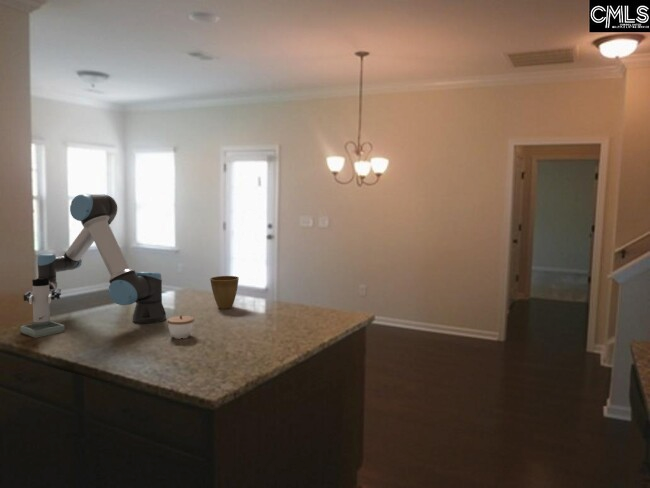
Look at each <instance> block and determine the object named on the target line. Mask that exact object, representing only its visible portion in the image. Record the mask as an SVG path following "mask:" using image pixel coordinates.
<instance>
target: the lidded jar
mask: <svg viewBox="0 0 650 488" xmlns="http://www.w3.org/2000/svg"><path fill="white" fill-rule="evenodd" d="M167 327H168V331H169V333H170V335H171V336H172V337H173V338H174V339H178V340H181V338H183V339H187V338H189V336H190V335H191V334H192V332H193V331H194V327H195V318H194V316H190V315H183V314H179V315H176V316H172V317H169V318H168V319H167Z"/></svg>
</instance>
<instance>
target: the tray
mask: <svg viewBox="0 0 650 488" xmlns="http://www.w3.org/2000/svg"><path fill="white" fill-rule="evenodd" d="M65 331H66V330H65V324H62V323H59V322H56V321H52V320H50V323H48V324H43V325H35V324H34V323H33V322H32V323H29V324H24V325H21V326H20V333H22V334H24V335H27V336H29V337H32V338H35V339H36V338H39V337H40V338H41V337H44V336H45V337H46V336H50V335H54V334H59V333H63V332H65Z"/></svg>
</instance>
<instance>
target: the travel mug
mask: <svg viewBox="0 0 650 488" xmlns="http://www.w3.org/2000/svg"><path fill="white" fill-rule="evenodd" d="M31 282H32V287H31V288H32V290H31V292H33V302H32V321H33V322H32V324H33V323H34V324H35V325H43V324H48V323H50V321H51V308H50V307H51V306H50V305H51V303H48V296H49V277H47V278H38V277H37V278H36V279H34V278H32V280H31Z"/></svg>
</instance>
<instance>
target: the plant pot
mask: <svg viewBox="0 0 650 488" xmlns="http://www.w3.org/2000/svg"><path fill="white" fill-rule="evenodd" d="M209 280H210V286H211V290H212V295H213V298H214V300H215V303H216V305H217V308H218V309H224V310H226V309H231V308H232V307H233V306H234V302H235V300H236V296H237V291H238V286H239V276H233V275H220V276H219V275H218V276H213V277H211V278H210V279H209Z"/></svg>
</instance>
